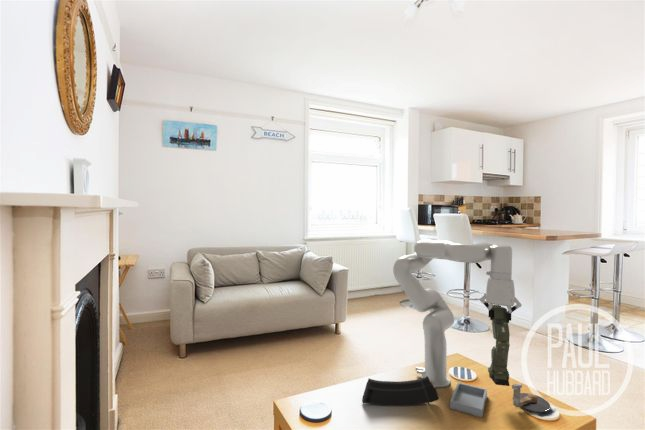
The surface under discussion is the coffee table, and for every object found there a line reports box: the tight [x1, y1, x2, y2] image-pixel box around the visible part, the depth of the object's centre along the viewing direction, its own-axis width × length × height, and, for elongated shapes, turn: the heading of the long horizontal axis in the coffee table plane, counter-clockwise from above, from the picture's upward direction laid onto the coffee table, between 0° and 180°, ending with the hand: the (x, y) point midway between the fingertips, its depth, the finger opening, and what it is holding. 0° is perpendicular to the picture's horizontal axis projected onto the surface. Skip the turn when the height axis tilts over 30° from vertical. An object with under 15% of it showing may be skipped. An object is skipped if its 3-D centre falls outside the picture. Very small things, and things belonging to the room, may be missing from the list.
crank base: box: [519, 392, 551, 415], centre depth 140 cm, size 12×12×2 cm
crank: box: [511, 382, 538, 408], centre depth 138 cm, size 13×4×8 cm, turn 114°
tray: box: [449, 382, 488, 419], centre depth 142 cm, size 12×17×3 cm
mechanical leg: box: [487, 304, 511, 387], centre depth 141 cm, size 14×7×30 cm, turn 168°
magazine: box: [361, 376, 440, 407], centre depth 142 cm, size 17×3×30 cm
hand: (499, 320), depth 140 cm, fingers closed on mechanical leg, 5 cm apart
